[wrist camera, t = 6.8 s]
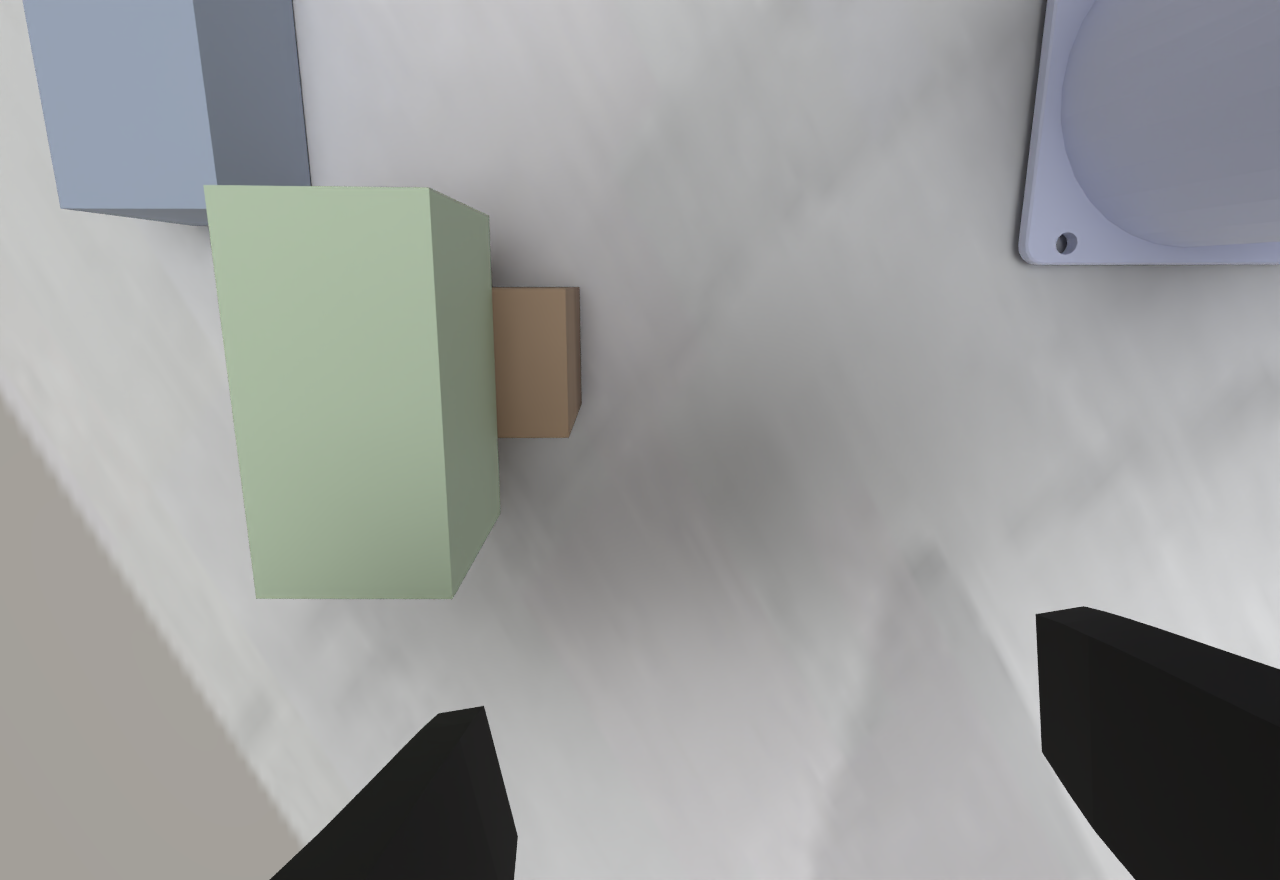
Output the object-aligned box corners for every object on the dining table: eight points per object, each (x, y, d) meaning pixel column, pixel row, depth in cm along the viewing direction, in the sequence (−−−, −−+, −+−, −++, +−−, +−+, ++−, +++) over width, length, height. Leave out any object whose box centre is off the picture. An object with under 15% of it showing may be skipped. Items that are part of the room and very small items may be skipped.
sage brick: (500, 513, 14) (452, 598, 10) (357, 512, 14) (255, 598, 10) (488, 216, 13) (429, 187, 9) (331, 214, 13) (202, 184, 9)
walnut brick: (579, 287, 17) (565, 288, 13) (581, 403, 18) (568, 437, 14) (341, 286, 17) (257, 288, 13) (352, 403, 18) (275, 438, 14)
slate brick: (153, -51, 15) (-7, -164, 12) (286, -51, 15) (171, -162, 12) (192, 225, 17) (60, 208, 13) (314, 225, 17) (220, 208, 13)
